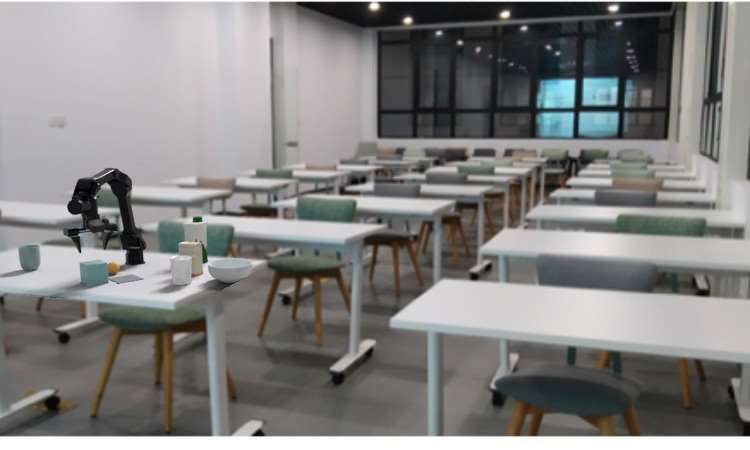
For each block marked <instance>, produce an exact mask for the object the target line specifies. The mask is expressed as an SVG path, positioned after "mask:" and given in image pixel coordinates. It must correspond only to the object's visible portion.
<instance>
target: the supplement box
mask: <svg viewBox="0 0 750 450" xmlns="http://www.w3.org/2000/svg"><path fill="white" fill-rule="evenodd" d="M178 256H191V257H192V271H191V276H194V277H195V276H196V277H197V276H200V275H203V274H204V265H203V264H204V263H203V261H202V242H187V241H185V240H184V241H182V242H179V243H178Z"/></svg>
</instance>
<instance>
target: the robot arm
mask: <svg viewBox="0 0 750 450" xmlns="http://www.w3.org/2000/svg"><path fill="white" fill-rule="evenodd" d="M105 184H107V185H108V187H110V190H111V193H112V194H113V195H114V196H115V197H116V199H117V203H118V208H119V209H118V210H119V214H120V217H121V218H120V219H121V223H122V227H123V228H122V229H123V230H122V231H121V233H120V234H119V238H120V243H121V247H122V250H123V251H125V252H126V253H125V263H124V264H126V265H127V264H128V265H130V266H135V265H142V264H146V261H145V259H144V258H145V257H144V251H145V250H146V249H147V242H146V240H145V239H144V237H143V235H142V232H141V230H140V229H139V228H138V227H137V226H136V222H135V218H134V213H133V207H132V203H131V197H130V194H131V193H132V190H133V181H132V178H131V177H130V176H129V175H128V174H127V173H125V172H122V171H121V170H120V169H118V168H117V167H106V168H104V169H103V170H102V171H100V172H97V173H96V174H94V175H92V176H87V177H80V178H78V179H77V181H76V183H75V186H74V190H73V193H72V195H71V199H70V200H69V201H68V203H67V206H66V209H67V211H68V213H69V214H70V215H72V216H79V215H80V217H81V222H82V223H81V227H76V226H67V227H64V228H63V230H62V235H63V236H65V237H67V238H70V240H71V241H72V242H73V244H74V245H75V247H76V249H77V251H78V253H79V254H82V246H81V235H80V234H84V233H91V234H97V233H101V234H102V235H101V236H102V237H101V239H102V249H103V251H107V247H108V243H109V240H110V238H111V236H112V235H114V234H116V232H118V231H119V225H118V224H117V223H115V222H110V219H109V218H108V217H107V218H103V219H101V215H100V213H99V208H98V207H99V206H98V199H100V195H99V194H98V193H99V192H100V191H101V190H102V186H104V185H105Z"/></svg>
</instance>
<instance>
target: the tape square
mask: <svg viewBox="0 0 750 450" xmlns="http://www.w3.org/2000/svg"><path fill="white" fill-rule="evenodd" d="M140 280H144V278H143V277H140V276H138V275H136V274H133V273H132V274H126V275H122V276H121V275H120V276H115V277H108V281H112V282H114V283H117V284H124V283H129V282H130V283H131V282H135V281H140Z"/></svg>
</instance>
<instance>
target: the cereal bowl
mask: <svg viewBox="0 0 750 450" xmlns="http://www.w3.org/2000/svg"><path fill="white" fill-rule="evenodd" d="M207 269H208V273H209V275H210V276H211V278H213V279H215V280H218V281H220V282H221V283H227V284H229V283H230V284H232V283H233V284H234V283H237V282H240V281H242V280H244V279H245V278H248V276H250V275H251V274H252V271H253V262H252V261H251V260H248V259H244V258H221V259H216V260H212V261H209V262H207Z"/></svg>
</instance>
